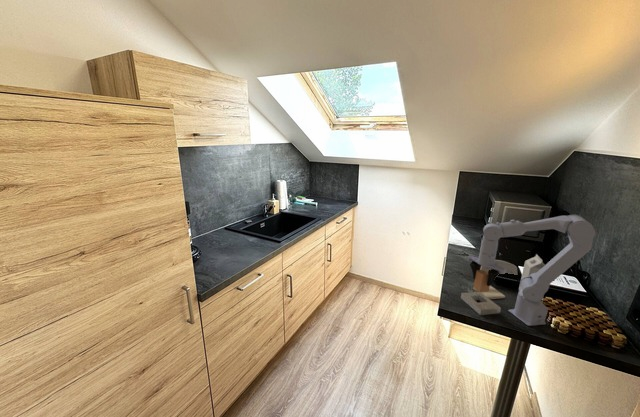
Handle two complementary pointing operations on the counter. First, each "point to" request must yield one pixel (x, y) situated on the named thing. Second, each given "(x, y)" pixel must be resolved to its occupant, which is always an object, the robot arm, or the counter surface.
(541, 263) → the milk carton
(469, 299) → the socket block
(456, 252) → the counter surface
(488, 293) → the board
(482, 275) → the peg
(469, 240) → the counter surface
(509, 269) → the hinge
